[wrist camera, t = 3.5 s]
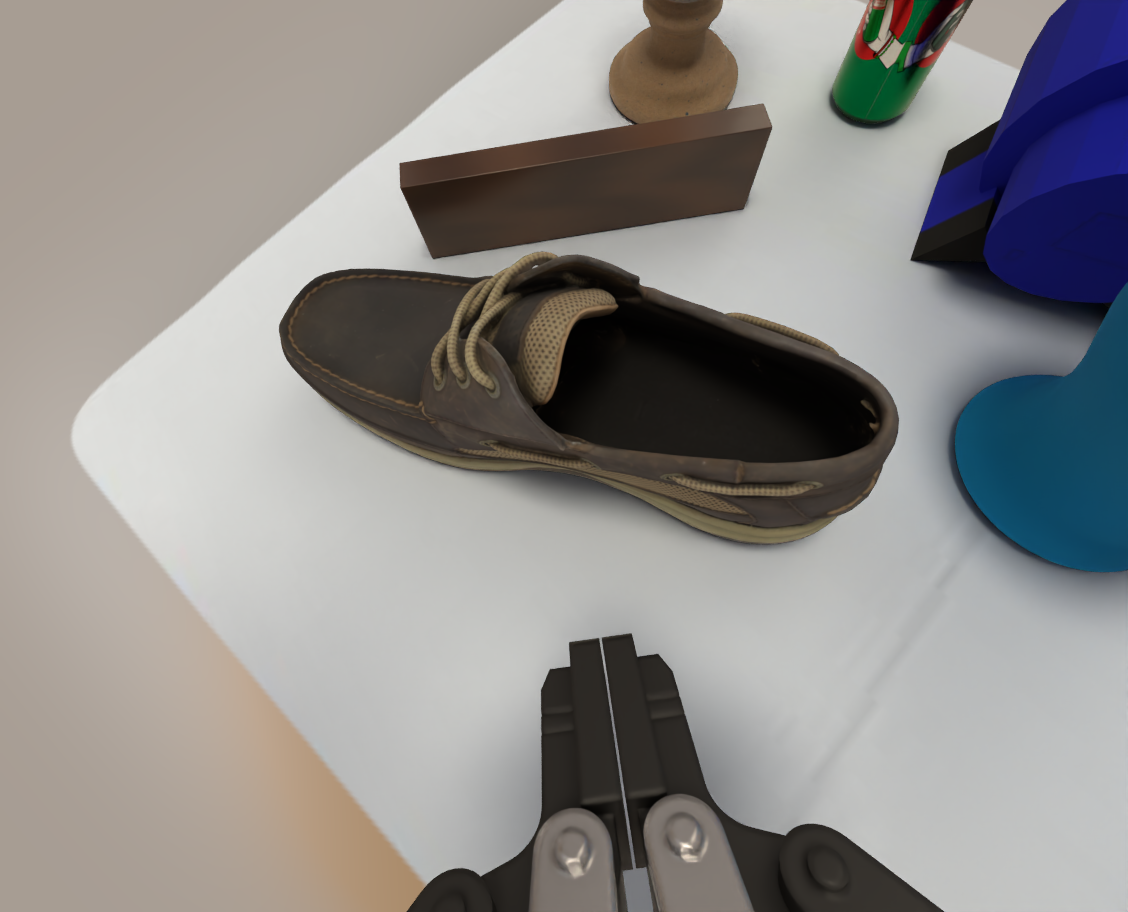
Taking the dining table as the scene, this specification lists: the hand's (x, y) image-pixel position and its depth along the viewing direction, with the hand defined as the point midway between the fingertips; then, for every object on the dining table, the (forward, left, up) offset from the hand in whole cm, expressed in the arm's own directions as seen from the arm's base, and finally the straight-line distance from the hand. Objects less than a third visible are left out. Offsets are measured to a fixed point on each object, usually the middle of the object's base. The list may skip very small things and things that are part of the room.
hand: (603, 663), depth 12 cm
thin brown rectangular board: (+24, +9, -13) cm, 28 cm away
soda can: (+39, -6, -13) cm, 41 cm away
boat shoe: (+11, +6, -13) cm, 18 cm away
